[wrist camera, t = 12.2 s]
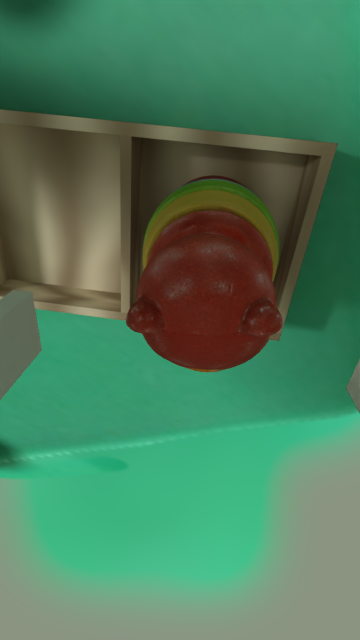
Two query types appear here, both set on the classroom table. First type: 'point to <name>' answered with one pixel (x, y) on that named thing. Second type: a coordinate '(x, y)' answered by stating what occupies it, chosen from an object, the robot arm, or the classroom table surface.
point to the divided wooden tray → (132, 202)
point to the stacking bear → (208, 276)
